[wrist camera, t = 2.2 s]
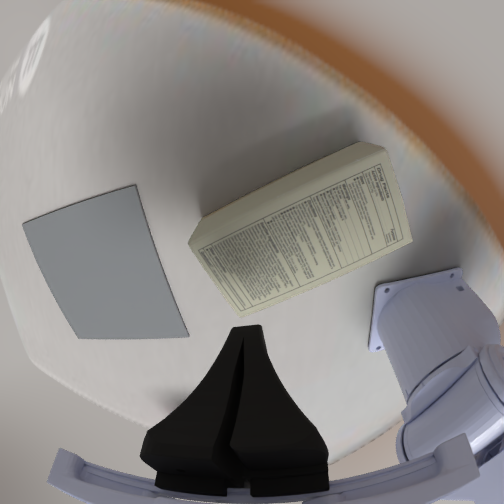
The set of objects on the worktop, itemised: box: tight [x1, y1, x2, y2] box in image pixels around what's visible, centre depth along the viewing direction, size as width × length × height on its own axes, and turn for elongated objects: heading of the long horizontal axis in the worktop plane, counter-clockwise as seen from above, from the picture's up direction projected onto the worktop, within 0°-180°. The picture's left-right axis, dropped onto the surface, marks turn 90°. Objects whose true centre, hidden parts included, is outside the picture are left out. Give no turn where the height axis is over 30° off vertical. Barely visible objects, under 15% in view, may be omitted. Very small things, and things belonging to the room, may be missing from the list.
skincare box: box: [188, 142, 413, 318], centre depth 17 cm, size 6×4×12 cm
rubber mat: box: [22, 185, 189, 339], centre depth 22 cm, size 14×14×1 cm
